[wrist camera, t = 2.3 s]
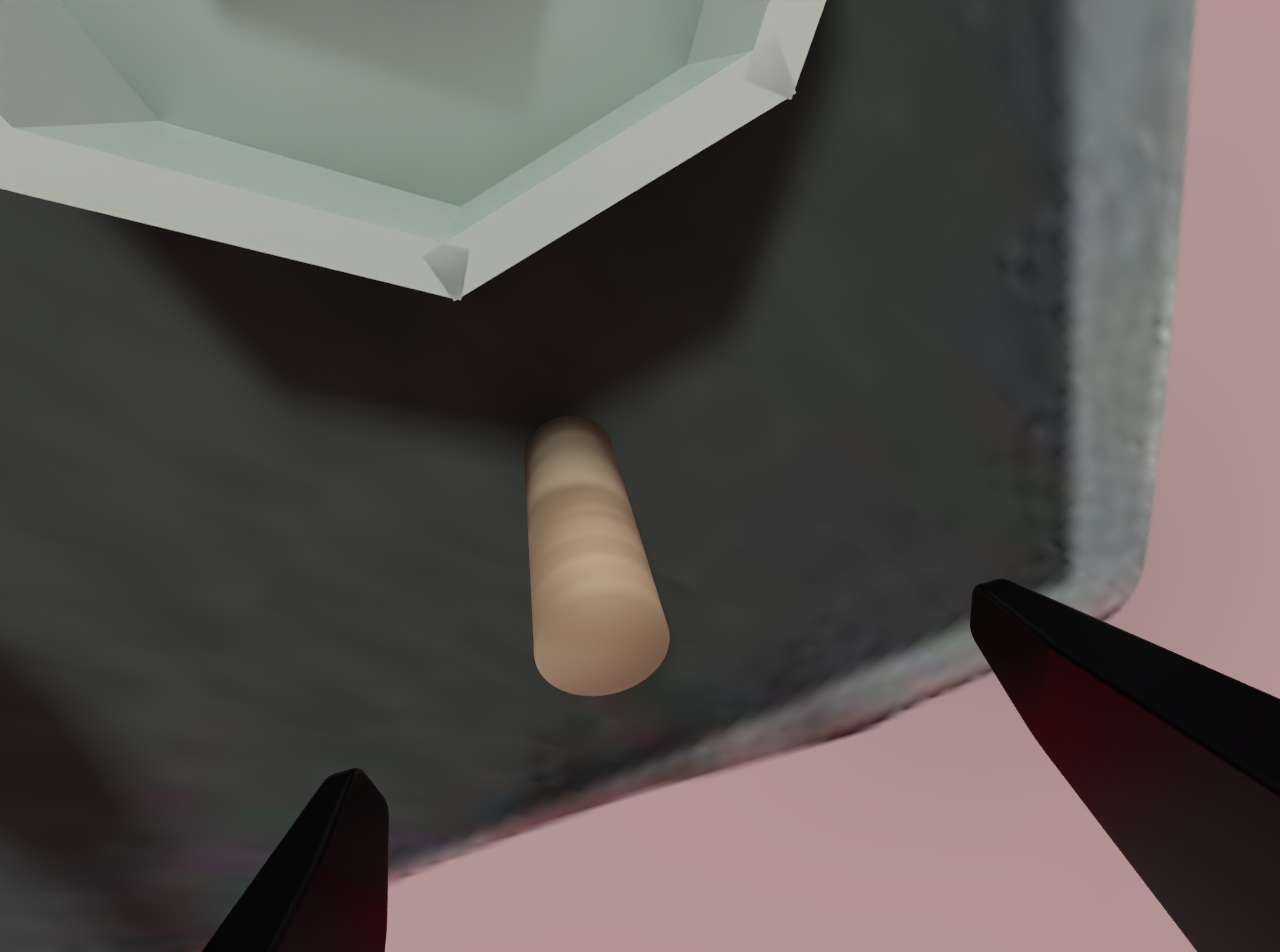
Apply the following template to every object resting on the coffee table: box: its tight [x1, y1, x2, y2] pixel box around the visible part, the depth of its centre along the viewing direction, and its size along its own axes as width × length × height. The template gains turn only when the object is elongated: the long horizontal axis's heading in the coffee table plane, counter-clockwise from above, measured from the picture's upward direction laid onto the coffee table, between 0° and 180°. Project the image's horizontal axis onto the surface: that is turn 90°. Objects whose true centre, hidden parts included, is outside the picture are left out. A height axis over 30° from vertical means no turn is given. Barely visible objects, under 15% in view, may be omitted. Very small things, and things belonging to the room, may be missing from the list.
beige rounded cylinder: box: [525, 416, 670, 696], centre depth 18 cm, size 3×3×9 cm
